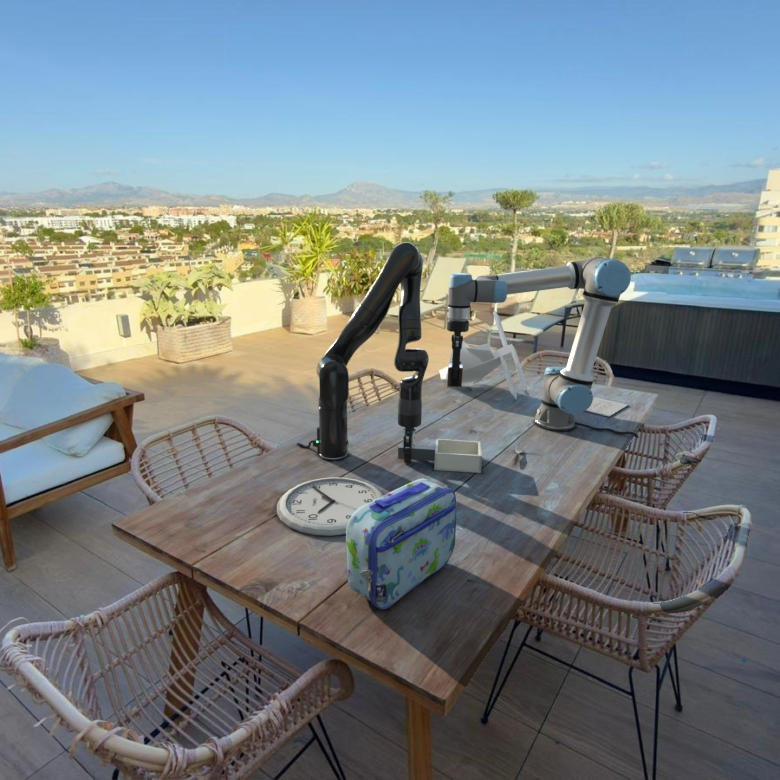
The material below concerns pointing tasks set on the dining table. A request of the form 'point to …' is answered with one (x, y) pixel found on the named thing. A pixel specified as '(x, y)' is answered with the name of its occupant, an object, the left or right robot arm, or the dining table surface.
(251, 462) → the dining table surface
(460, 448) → the bin
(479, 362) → the white plastic object
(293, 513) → the wall clock
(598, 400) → the invitation card
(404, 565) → the lunch box
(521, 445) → the fork
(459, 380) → the walnut block
